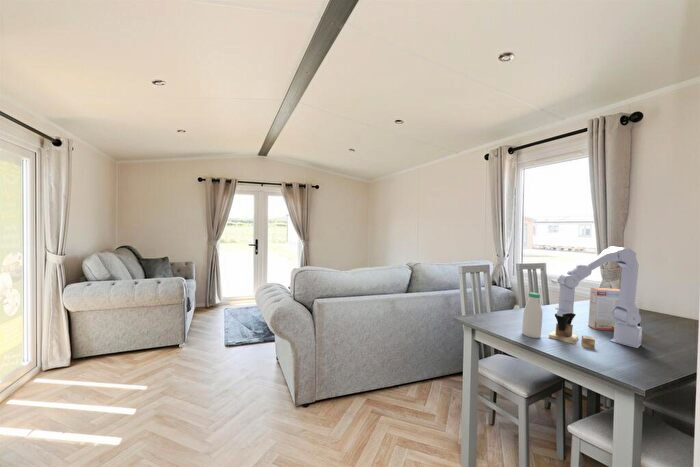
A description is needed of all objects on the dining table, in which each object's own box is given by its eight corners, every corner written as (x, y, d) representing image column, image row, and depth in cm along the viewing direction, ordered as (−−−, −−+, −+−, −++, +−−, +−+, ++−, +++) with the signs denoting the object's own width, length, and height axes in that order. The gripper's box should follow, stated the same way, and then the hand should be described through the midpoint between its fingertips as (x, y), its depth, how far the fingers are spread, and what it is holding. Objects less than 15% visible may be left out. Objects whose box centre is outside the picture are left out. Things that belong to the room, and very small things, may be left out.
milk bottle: (543, 339, 147) (546, 295, 146) (525, 337, 149) (528, 294, 148) (537, 333, 155) (540, 292, 154) (519, 331, 156) (522, 290, 155)
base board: (577, 338, 150) (578, 335, 150) (574, 344, 143) (575, 340, 143) (552, 332, 157) (553, 329, 157) (548, 337, 150) (549, 334, 150)
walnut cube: (571, 335, 149) (572, 325, 149) (567, 337, 146) (568, 326, 146) (559, 332, 153) (560, 322, 153) (555, 334, 150) (556, 323, 150)
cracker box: (615, 328, 170) (618, 288, 169) (624, 331, 164) (627, 291, 163) (587, 325, 171) (590, 286, 170) (594, 329, 165) (597, 289, 164)
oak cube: (592, 346, 142) (593, 337, 142) (594, 349, 138) (595, 339, 138) (581, 344, 144) (581, 335, 143) (583, 347, 140) (583, 338, 140)
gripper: (562, 296, 157) (560, 324, 157) (550, 300, 148) (548, 329, 148) (579, 299, 151) (577, 328, 152) (568, 303, 142) (565, 334, 143)
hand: (564, 329), depth 150 cm, fingers open, 5 cm apart
